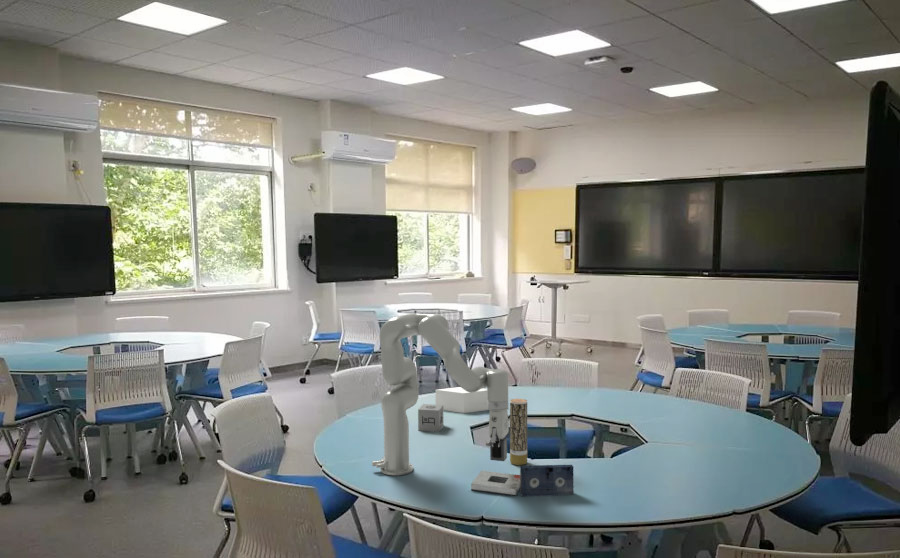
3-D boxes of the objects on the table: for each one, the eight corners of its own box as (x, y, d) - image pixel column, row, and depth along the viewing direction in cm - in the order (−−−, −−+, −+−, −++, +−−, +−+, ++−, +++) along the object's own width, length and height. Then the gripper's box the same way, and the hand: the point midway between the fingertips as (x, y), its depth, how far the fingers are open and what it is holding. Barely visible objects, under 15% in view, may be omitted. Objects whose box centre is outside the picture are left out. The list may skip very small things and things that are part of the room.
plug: (485, 459, 212) (484, 440, 212) (488, 455, 216) (487, 436, 216) (504, 461, 210) (503, 441, 210) (506, 457, 214) (506, 438, 214)
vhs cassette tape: (572, 492, 208) (572, 464, 208) (574, 495, 205) (574, 467, 205) (519, 493, 208) (519, 465, 207) (521, 496, 205) (521, 468, 204)
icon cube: (418, 430, 280) (418, 409, 280) (423, 424, 290) (423, 404, 290) (439, 431, 278) (438, 410, 278) (443, 425, 288) (443, 405, 288)
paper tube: (518, 467, 232) (518, 403, 231) (506, 462, 238) (506, 400, 236) (530, 463, 236) (530, 401, 235) (519, 458, 242) (519, 397, 240)
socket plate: (471, 490, 210) (471, 481, 210) (481, 477, 222) (481, 468, 222) (515, 496, 205) (515, 487, 204) (523, 482, 217) (523, 474, 217)
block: (436, 405, 325) (436, 386, 325) (491, 405, 324) (491, 386, 324) (434, 413, 310) (434, 393, 310) (492, 413, 310) (492, 393, 309)
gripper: (502, 411, 203) (502, 464, 204) (513, 399, 219) (514, 449, 219) (481, 409, 205) (481, 462, 206) (493, 398, 221) (494, 447, 222)
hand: (498, 454), depth 213 cm, fingers closed on plug, 4 cm apart
